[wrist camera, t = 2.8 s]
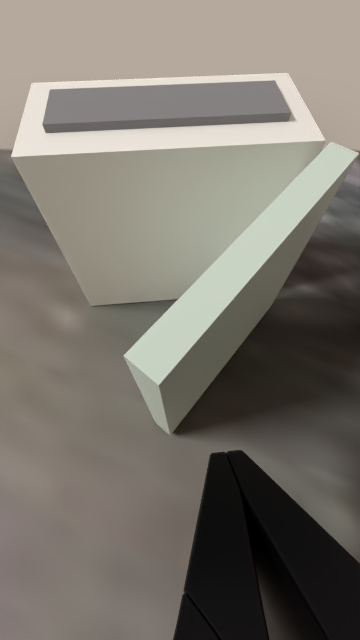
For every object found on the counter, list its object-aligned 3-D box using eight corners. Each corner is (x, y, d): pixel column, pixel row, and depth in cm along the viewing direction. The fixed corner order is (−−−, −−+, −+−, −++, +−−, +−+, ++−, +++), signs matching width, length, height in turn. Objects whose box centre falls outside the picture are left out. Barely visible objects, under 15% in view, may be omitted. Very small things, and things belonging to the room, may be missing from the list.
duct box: (256, 292, 19) (329, 131, 10) (90, 306, 19) (6, 148, 9) (242, 236, 21) (289, 64, 12) (93, 247, 21) (28, 74, 12)
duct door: (271, 306, 18) (359, 153, 9) (170, 435, 15) (158, 385, 6) (257, 297, 19) (331, 141, 10) (155, 422, 15) (123, 355, 6)
